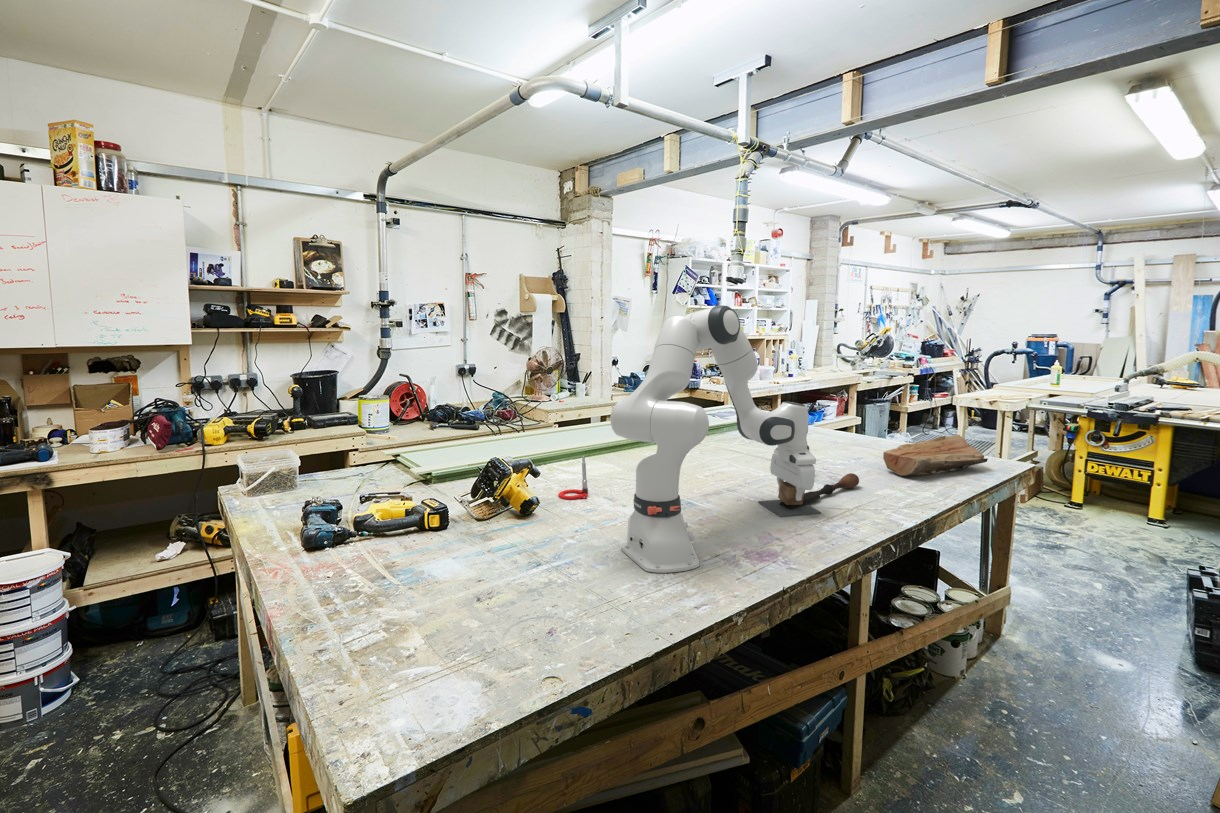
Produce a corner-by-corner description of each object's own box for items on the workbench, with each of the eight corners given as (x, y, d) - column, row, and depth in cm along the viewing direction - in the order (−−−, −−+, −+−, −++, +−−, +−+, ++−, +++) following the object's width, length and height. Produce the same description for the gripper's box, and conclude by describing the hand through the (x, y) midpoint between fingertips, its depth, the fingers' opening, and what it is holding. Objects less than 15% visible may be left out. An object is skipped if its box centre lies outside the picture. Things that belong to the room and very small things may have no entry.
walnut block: (802, 504, 178) (805, 488, 177) (786, 504, 177) (789, 488, 175) (793, 497, 183) (796, 481, 182) (777, 497, 182) (780, 481, 180)
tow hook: (556, 501, 187) (586, 500, 187) (554, 460, 185) (584, 459, 185) (560, 493, 196) (589, 492, 196) (558, 454, 194) (587, 453, 194)
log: (958, 460, 240) (954, 426, 238) (998, 467, 223) (995, 431, 221) (882, 486, 226) (877, 450, 224) (919, 495, 210) (914, 457, 208)
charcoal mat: (821, 513, 175) (821, 512, 175) (780, 517, 172) (780, 515, 172) (796, 499, 189) (796, 498, 189) (758, 502, 185) (758, 501, 185)
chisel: (861, 487, 203) (863, 474, 202) (791, 514, 177) (793, 500, 176) (848, 483, 207) (850, 470, 206) (777, 509, 181) (779, 494, 179)
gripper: (766, 446, 187) (764, 486, 189) (800, 461, 167) (797, 506, 169) (783, 445, 188) (781, 485, 190) (819, 460, 169) (816, 504, 171)
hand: (789, 495), depth 180 cm, fingers open, 8 cm apart
